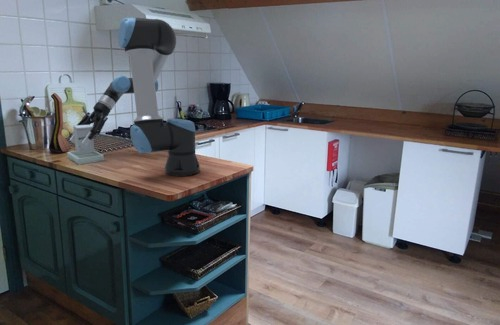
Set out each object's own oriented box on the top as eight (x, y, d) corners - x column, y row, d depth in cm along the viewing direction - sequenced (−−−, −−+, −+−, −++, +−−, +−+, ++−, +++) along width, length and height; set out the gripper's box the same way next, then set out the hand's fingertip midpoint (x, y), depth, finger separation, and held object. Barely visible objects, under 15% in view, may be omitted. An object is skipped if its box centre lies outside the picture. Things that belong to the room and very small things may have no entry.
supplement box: (78, 154, 185) (75, 127, 182) (75, 151, 191) (72, 125, 188) (94, 152, 189) (92, 126, 186) (91, 149, 195) (89, 124, 192)
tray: (104, 160, 189) (103, 155, 188) (78, 164, 181) (77, 158, 180) (92, 154, 200) (91, 148, 200) (67, 157, 193) (67, 152, 192)
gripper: (123, 113, 191) (97, 150, 183) (95, 109, 203) (70, 144, 195) (113, 103, 186) (86, 141, 177) (85, 99, 198) (59, 135, 189)
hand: (77, 143), depth 186 cm, fingers closed on supplement box, 9 cm apart
